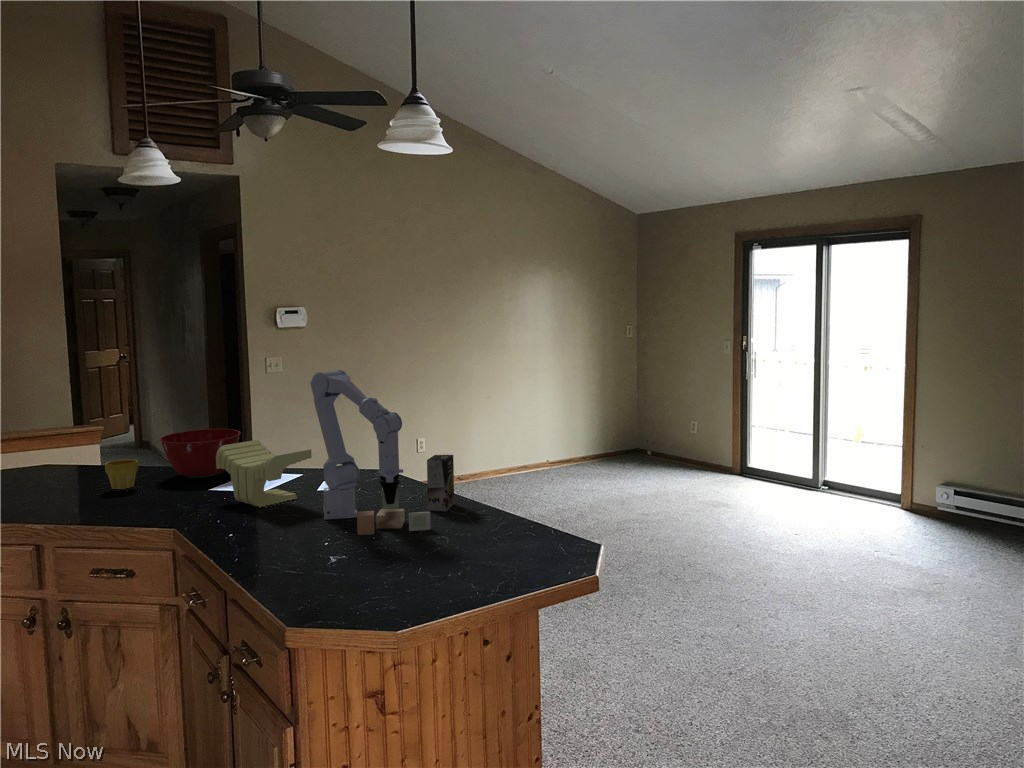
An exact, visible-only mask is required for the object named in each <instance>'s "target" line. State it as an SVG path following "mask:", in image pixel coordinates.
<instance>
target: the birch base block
mask: <svg viewBox="0 0 1024 768" xmlns="http://www.w3.org/2000/svg"><path fill="white" fill-rule="evenodd" d="M405 513H406V512H405V508H391V509H383V508H381V509H379V510H378V512H377V514H376V515H375V520H376V521H375V522H376V523H375V524H376V529H402V528H403V525H404V524H405V522H406V518H405V517H406V516H405Z"/></svg>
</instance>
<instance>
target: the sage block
mask: <svg viewBox="0 0 1024 768" xmlns="http://www.w3.org/2000/svg"><path fill="white" fill-rule="evenodd" d="M381 494H382V497H381V498H382V500H381V501H382V509H400V505H399V503H400V500H399V486H398V487H397V490H396V495H395V502H394V504H387V503H386V500H385V495H384V491H383V488H382V487H381Z"/></svg>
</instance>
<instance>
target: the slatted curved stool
mask: <svg viewBox="0 0 1024 768" xmlns="http://www.w3.org/2000/svg"><path fill="white" fill-rule="evenodd" d="M308 459H312V449H305V450H300V451H293V452H290V453H285V454H279V455H276V454H275V453H273V452H272V451H270V450H269V449H268V448H267V447H266V446H265V445H264V444H262V442H261V441H260V439H253V440H249V441H242V442H238V443H235V444H228V445H224V446H222V447H220V448H219V450H218V451H217V454H216V468H217V469H220V468H221V469H226V471H225V472H227V474H229V475H230V480H231V484H232V491H233V496H234V497H233V498H234V499H235V500H236V501H237V502H239V501H240V503H243V502H244V503H243V504H247V505H250V504H251V506H254V507H257V506H258V507H257V508H261V507H262V506H266V505H270V504H274V503H279V502H283V501H287V500H292V499H298V497H297V494H296V493H294V492H290V491H286V490H283V489H279V488H274V489H269V490H268V489H267V490H265V485H266V482H267V481H268V482H273V481H278V480H282V476H283V473H284V470H286V469H287V468H288V467H289V466H291V465H295V464H297V463H300V462H302V461H306V460H308Z"/></svg>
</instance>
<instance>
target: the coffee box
mask: <svg viewBox="0 0 1024 768" xmlns="http://www.w3.org/2000/svg"><path fill="white" fill-rule="evenodd" d="M454 463H455V462H454V455H453V454H434V455H433V456H431V457H430V458H428V459H427V460H426V480H427V481H426V482H427V488H426V489H427V490H426V491H427V511H428V512H431V511H432V512H447V511H448V510H450V509H451V508H452V507H453V506H454V505H455V479H454V478H455V474H454V473H455V470H454V469H455V468H454V466H455V465H454Z"/></svg>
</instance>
